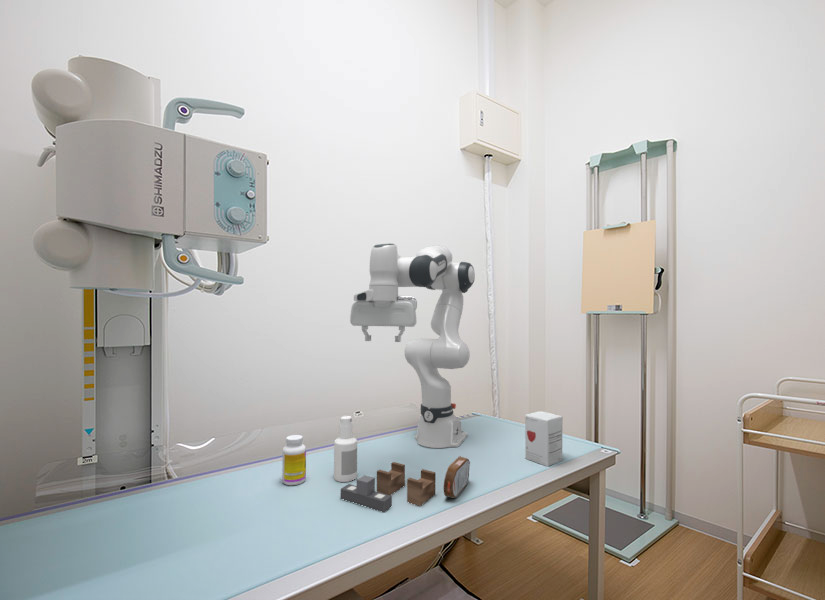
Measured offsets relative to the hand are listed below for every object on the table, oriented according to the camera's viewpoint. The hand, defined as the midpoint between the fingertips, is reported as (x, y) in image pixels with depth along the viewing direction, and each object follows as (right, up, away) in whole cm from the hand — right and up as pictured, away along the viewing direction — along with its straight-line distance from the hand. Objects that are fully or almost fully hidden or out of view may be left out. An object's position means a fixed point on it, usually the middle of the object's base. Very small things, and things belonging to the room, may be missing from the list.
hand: (382, 341), depth 124 cm
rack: (+7, -40, -12) cm, 43 cm away
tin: (+22, -41, -11) cm, 47 cm away
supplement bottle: (-26, -41, -4) cm, 48 cm away
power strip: (-3, -41, -17) cm, 44 cm away
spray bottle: (-11, -41, -2) cm, 42 cm away
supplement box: (+53, -41, +13) cm, 68 cm away
